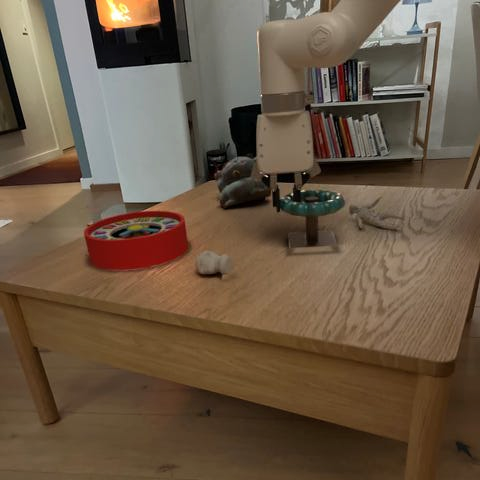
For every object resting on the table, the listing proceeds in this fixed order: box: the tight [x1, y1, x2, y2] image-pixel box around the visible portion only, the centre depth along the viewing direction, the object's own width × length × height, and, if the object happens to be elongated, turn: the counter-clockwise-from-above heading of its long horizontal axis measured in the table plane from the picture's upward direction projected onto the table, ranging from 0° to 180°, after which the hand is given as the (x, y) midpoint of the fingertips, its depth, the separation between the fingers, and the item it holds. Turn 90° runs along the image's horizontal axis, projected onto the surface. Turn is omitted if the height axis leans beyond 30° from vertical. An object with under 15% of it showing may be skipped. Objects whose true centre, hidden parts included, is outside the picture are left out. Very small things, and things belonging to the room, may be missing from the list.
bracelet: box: [280, 189, 346, 218], centre depth 89 cm, size 12×12×2 cm
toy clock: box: [83, 210, 189, 272], centre depth 96 cm, size 20×6×20 cm
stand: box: [287, 197, 338, 249], centre depth 91 cm, size 9×9×9 cm
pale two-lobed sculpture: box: [194, 250, 235, 276], centre depth 83 cm, size 4×8×5 cm
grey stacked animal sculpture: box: [214, 152, 272, 209], centre depth 125 cm, size 15×12×14 cm
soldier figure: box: [348, 196, 406, 231], centre depth 100 cm, size 8×5×12 cm
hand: (286, 209), depth 90 cm, fingers closed on bracelet, 2 cm apart
